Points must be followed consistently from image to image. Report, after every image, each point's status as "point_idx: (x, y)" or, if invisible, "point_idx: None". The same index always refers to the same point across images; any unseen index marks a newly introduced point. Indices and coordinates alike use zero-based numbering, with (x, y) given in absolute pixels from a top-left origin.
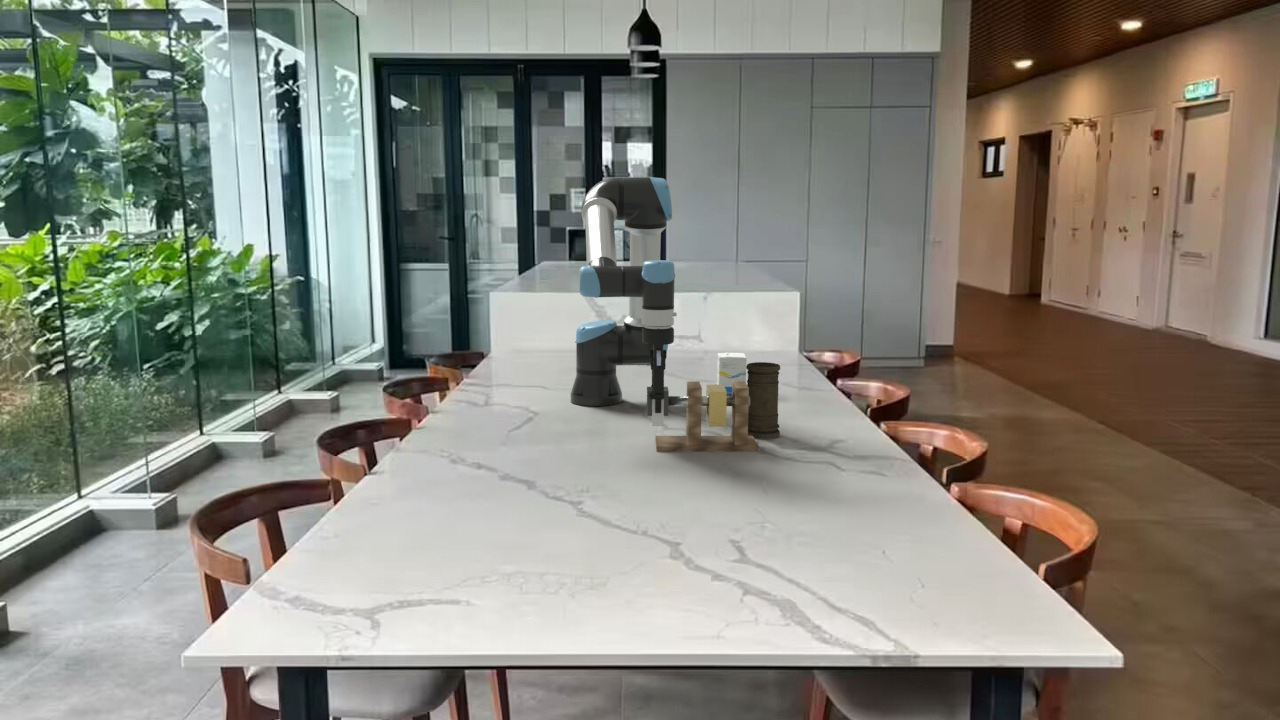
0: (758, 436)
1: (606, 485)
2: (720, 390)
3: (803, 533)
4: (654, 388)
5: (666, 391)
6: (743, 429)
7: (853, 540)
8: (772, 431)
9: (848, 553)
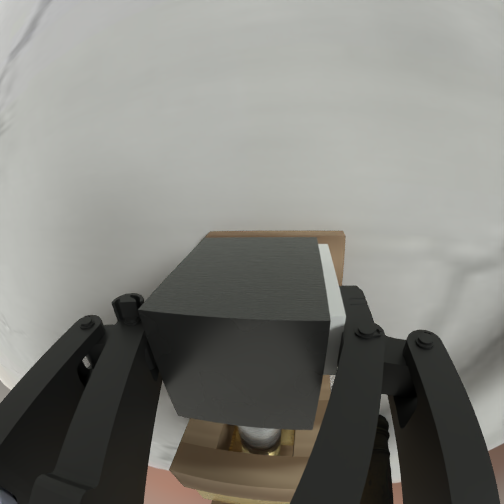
0: None
1: (13, 153)
2: (218, 498)
3: (10, 344)
4: (52, 355)
5: (176, 406)
6: None
7: (19, 367)
8: None
9: (6, 354)
